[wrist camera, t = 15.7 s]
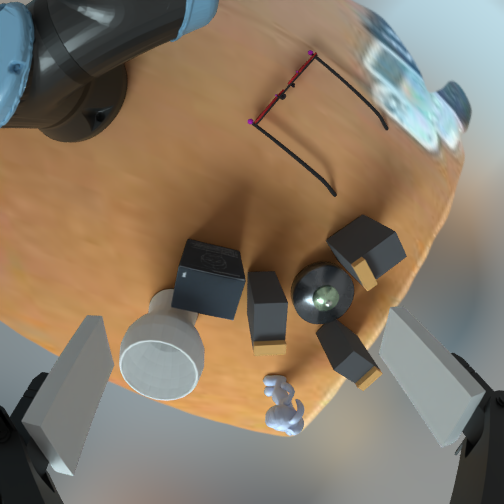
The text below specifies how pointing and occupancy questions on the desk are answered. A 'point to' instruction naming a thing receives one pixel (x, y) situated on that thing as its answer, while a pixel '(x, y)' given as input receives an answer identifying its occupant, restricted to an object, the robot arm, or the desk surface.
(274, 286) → the grey tan block
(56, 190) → the desk surface
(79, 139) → the robot arm
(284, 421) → the toy figurine
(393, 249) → the dark grey tan-ended block
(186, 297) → the box
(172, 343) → the cup
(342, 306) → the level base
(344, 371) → the dark grey block
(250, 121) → the glasses
